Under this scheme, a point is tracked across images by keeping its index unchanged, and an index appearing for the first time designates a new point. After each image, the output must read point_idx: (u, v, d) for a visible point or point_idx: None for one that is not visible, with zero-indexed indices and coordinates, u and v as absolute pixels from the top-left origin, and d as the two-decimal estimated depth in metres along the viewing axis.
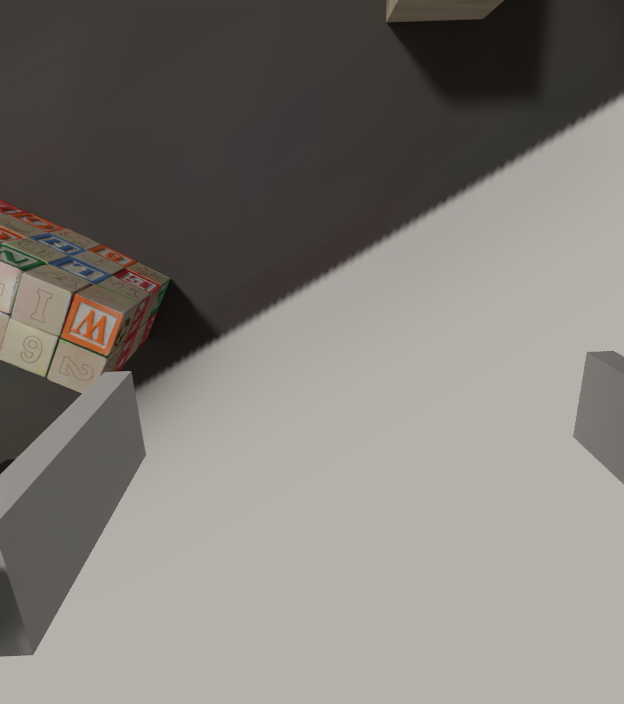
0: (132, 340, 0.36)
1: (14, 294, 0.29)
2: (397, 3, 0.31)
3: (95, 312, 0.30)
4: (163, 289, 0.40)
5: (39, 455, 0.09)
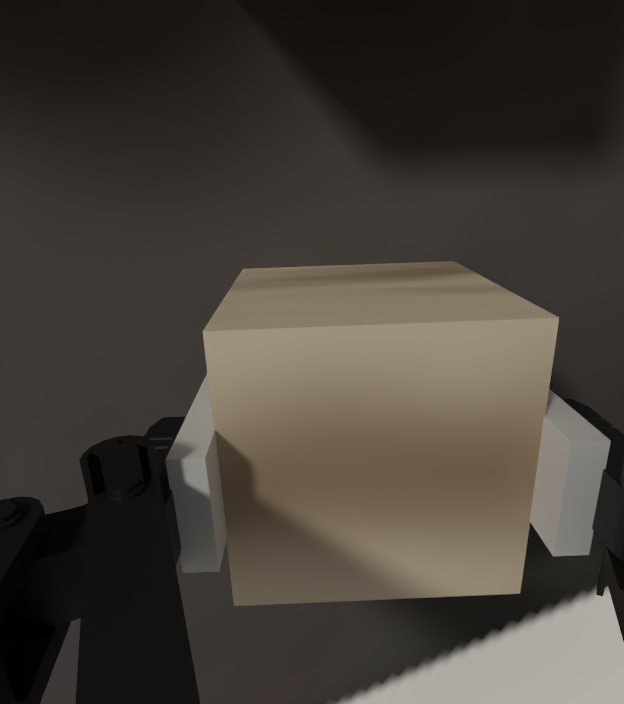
0: None
1: None
2: None
3: None
4: None
5: (207, 409, 0.11)
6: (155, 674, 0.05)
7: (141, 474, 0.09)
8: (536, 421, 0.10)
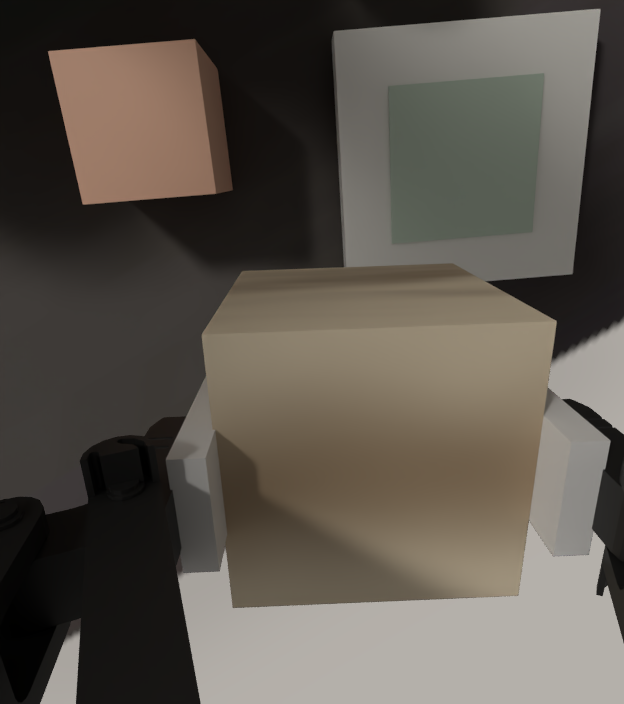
0: None
1: None
2: None
3: None
4: None
5: (207, 409, 0.11)
6: (155, 675, 0.05)
7: (141, 474, 0.09)
8: (534, 424, 0.10)
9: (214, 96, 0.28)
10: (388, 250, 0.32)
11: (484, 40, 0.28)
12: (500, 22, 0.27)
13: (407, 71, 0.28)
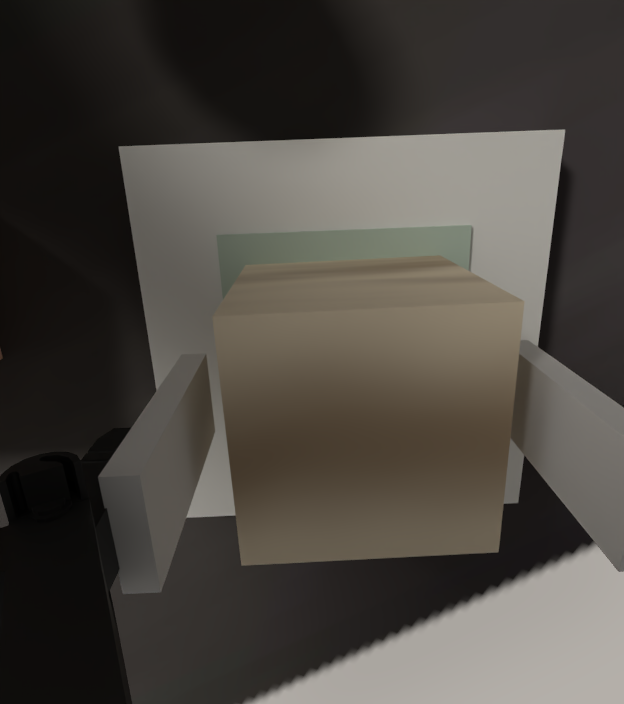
0: None
1: None
2: None
3: None
4: None
5: (153, 421, 0.11)
6: None
7: (67, 492, 0.08)
8: (507, 394, 0.12)
9: None
10: None
11: (372, 171, 0.17)
12: (398, 144, 0.16)
13: (247, 212, 0.17)
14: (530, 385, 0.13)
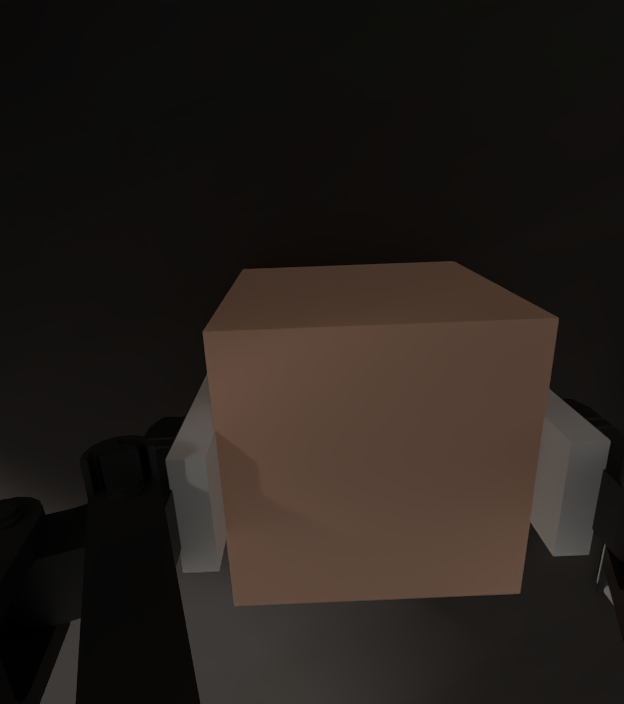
0: None
1: None
2: None
3: None
4: None
5: (207, 409, 0.11)
6: (156, 675, 0.05)
7: (141, 474, 0.09)
8: None
9: None
10: None
11: None
12: None
13: None
14: None
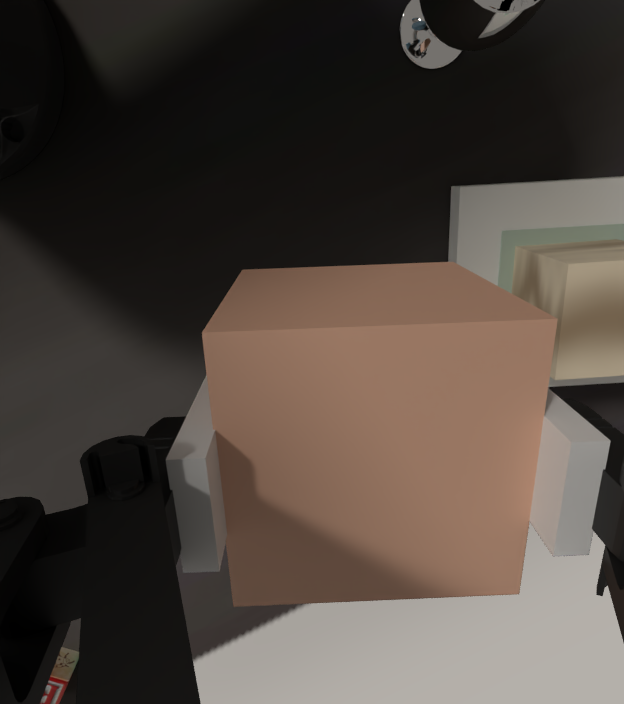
0: None
1: None
2: None
3: None
4: None
5: (207, 409, 0.11)
6: (156, 674, 0.05)
7: (141, 474, 0.09)
8: None
9: None
10: None
11: (585, 196, 0.33)
12: (600, 182, 0.32)
13: (519, 218, 0.33)
14: None
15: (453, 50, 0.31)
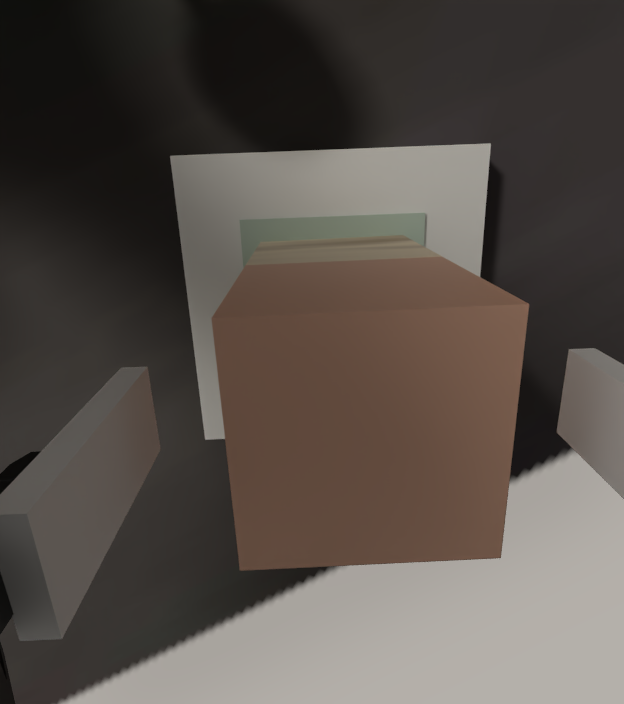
0: None
1: None
2: None
3: None
4: None
5: (64, 446, 0.10)
6: None
7: None
8: None
9: None
10: None
11: (352, 173, 0.23)
12: (371, 154, 0.23)
13: (262, 203, 0.23)
14: (605, 398, 0.12)
15: None
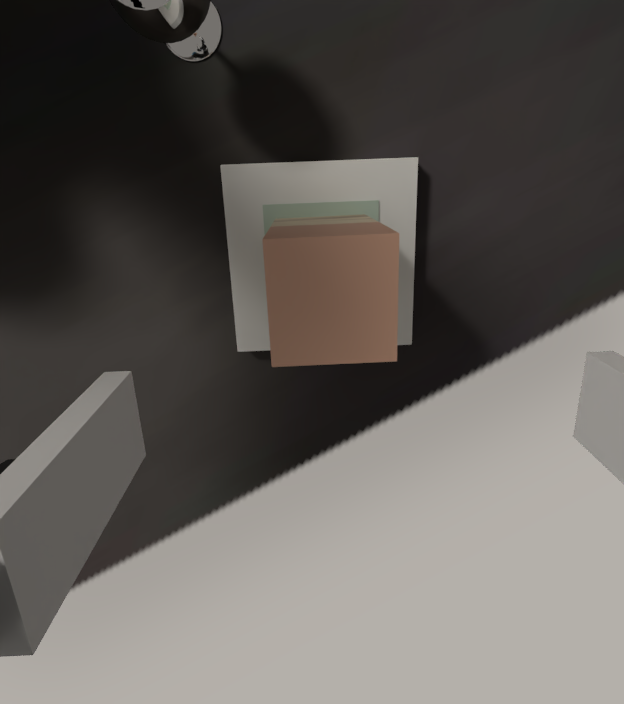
0: None
1: None
2: None
3: None
4: None
5: (39, 455, 0.09)
6: None
7: None
8: None
9: None
10: (267, 321, 0.41)
11: (332, 175, 0.37)
12: (344, 163, 0.37)
13: (276, 194, 0.38)
14: None
15: (208, 45, 0.36)
